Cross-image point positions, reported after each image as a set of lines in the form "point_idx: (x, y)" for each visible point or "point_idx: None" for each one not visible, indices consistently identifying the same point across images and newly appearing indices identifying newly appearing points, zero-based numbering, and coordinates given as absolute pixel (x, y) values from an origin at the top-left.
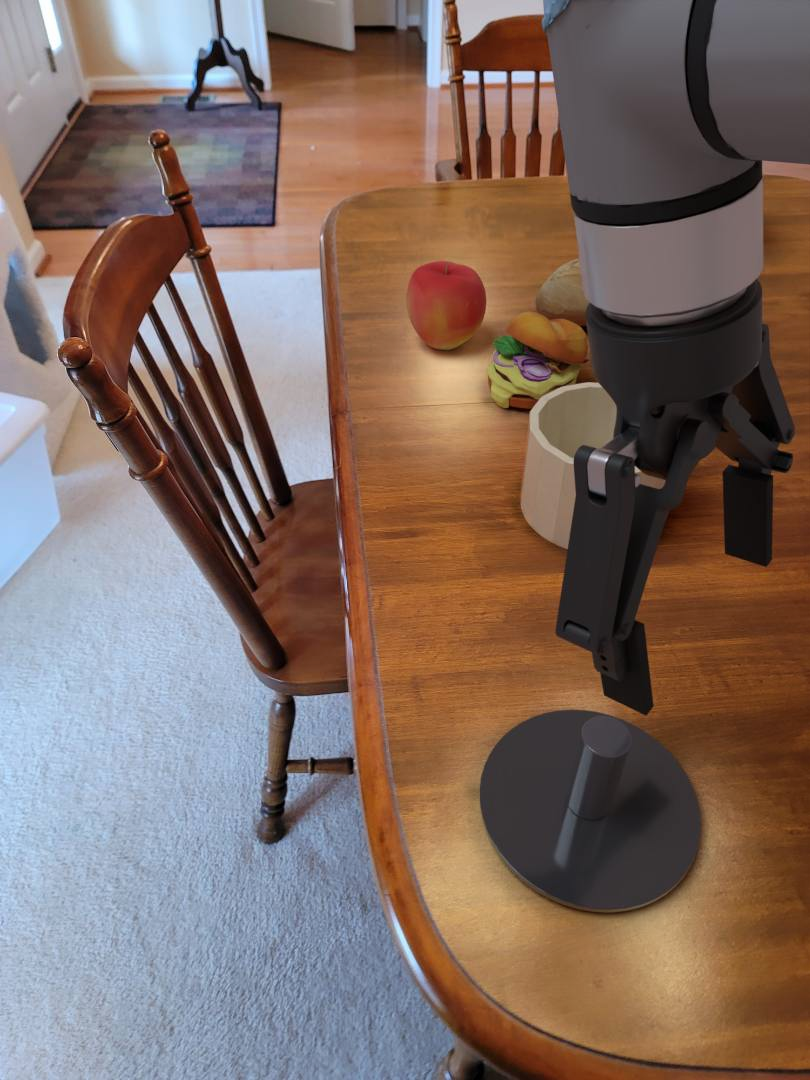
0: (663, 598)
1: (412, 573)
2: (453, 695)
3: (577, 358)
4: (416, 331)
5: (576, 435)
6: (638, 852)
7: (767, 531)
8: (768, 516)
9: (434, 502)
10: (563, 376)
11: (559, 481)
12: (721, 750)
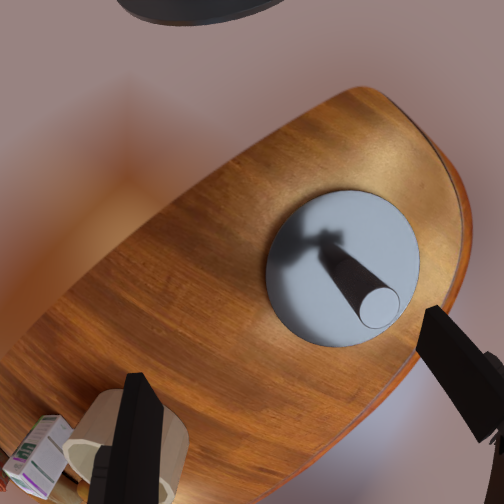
0: (149, 357)
1: (285, 453)
2: (342, 382)
3: (89, 486)
4: None
5: None
6: (354, 223)
7: (129, 425)
8: (123, 448)
9: (230, 475)
10: None
11: (174, 471)
12: (222, 241)
